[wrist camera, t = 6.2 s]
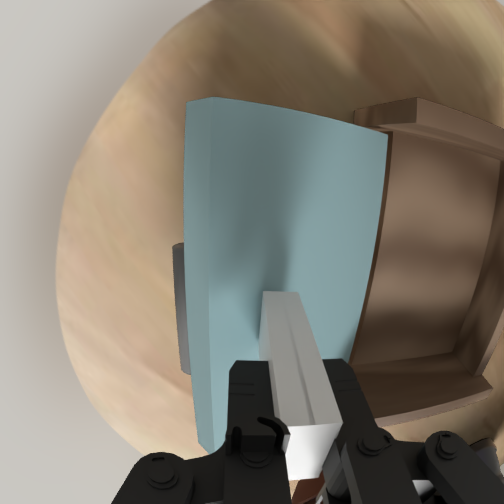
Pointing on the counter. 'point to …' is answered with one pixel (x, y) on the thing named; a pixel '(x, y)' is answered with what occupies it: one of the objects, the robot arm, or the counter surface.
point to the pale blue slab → (269, 236)
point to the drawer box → (432, 263)
